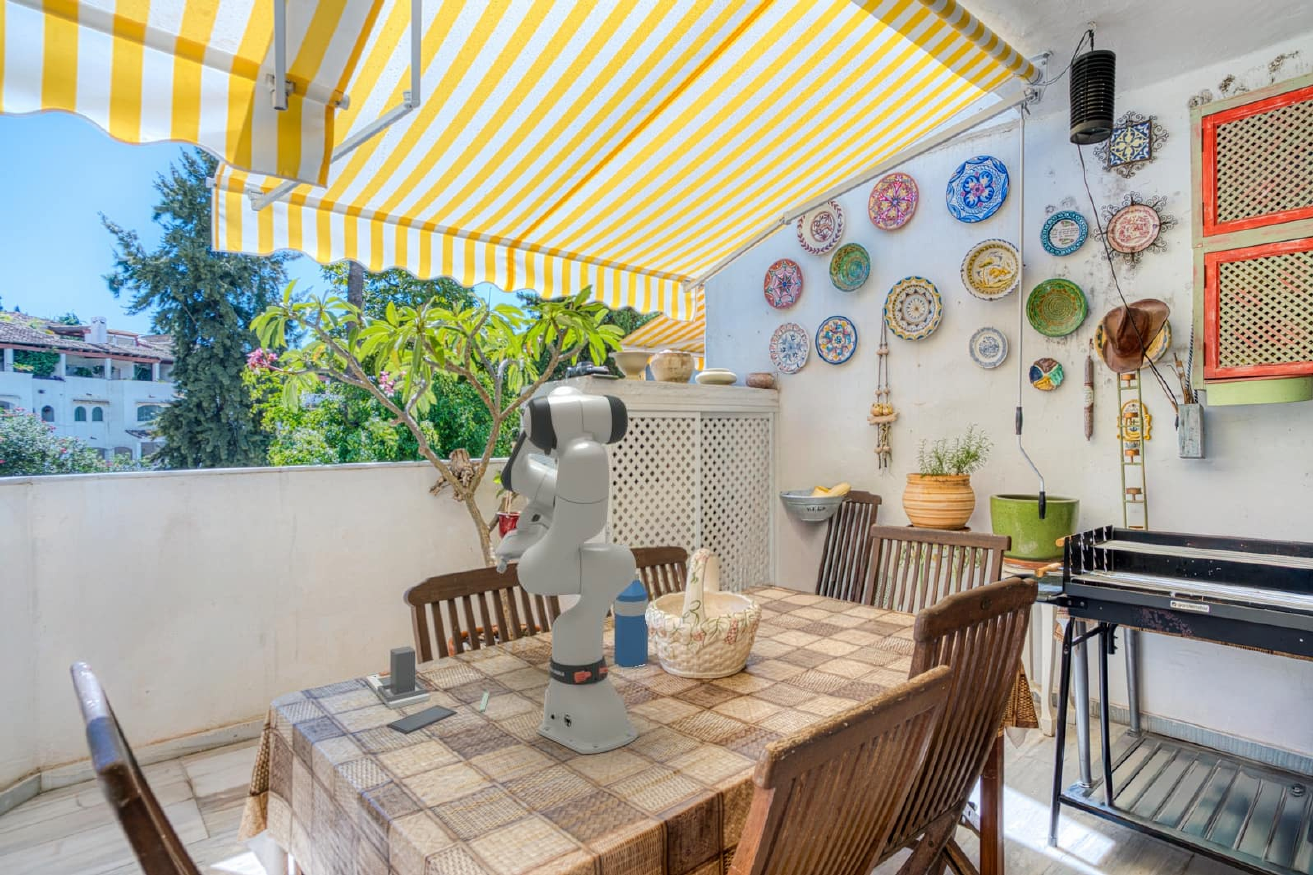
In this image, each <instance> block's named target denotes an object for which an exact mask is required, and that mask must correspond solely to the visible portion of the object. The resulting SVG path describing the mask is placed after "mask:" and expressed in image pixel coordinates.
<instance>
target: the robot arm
mask: <svg viewBox="0 0 1313 875" xmlns="http://www.w3.org/2000/svg"><path fill="white" fill-rule="evenodd" d="M522 418H523V419H522V420H523V421H522V422H523V423H522V424H523V430H522V432H521V433H520V435H519V437H518V439H517V441H516V443H515V445H514V447H513V448H512V449H513V450H512V451H511V453H510V455H509V458H508V459H507V461H506V462H505V464H504V465H503V467H502V468H501V471H500V477H499V481H500V484H501V485H502V487H503V488H504V490H505V491H508V492H511V493H514V494H518V495H520V496H523V497H525V498H527V499H528V500H529V501H528V503H527V505H525V506H524V508H523V509H522V511H521V513H520V515H519V517H518V519H517V521H516V523H515V528H513V530H510V531H508V532H506V533H505V535H504V536H503V537H502V539H501V541H500V543H499V544H498V546H497V547H496V549H495V552H494V554H495V556H496V557H498V558H499V561H498V566H497V568H496V572H497V573H499V574H504V573H505V572H506V571H507V569H508V567H507V564H509V562H510V560H512V561H513V560H519V561H518V563H517V565H516V567H515V570H517V573H516V574H517V578H518V582H519V583H520V587H522V588H523V590H524V591H525V592H526V593H528V594H533V595H540V596H545V597H546V596H547V597H551V596H571V595H577V596H578V595H580V598H579V600H578V601H577V603H575V604H574V606H572V607H570V608H569V609H567V610H565V611H563V612H562V613H560V614H559V615H558V616H557V617H556V619H555V620H554V622H553V624H552V629H551V636H552V637H551V640H552V641H551V657H550V659H549V676H550V677H551V678H550V682H549V684H548V686H547V687H546V689H545V693H544V701H543V702H544V703H543V713H542V722H541V723H540V725H538V727H537V734H539V735H540V736H543V737H546V738H547V739H549V740H552V741H554V742H556V743H558V744H560V745H563V746H565V748H568V749H570V750H573V751H576V753H579V754H582V755H588V754H589V755H590V754H600V753H603V752H607V751H611V750H615V749H618V748H620V747H623V746H626V745H627V744H630V743H632V742H633V741H635V740H636V739H637V738H638V737H639V730H638V729H637V728H636V727H635V726H634V725H632V723H631V722H629V721H628V720H627V718H628V716H627V708H626V698H625V696H624V695H619V693H618V692H617V690H616V689H615V687H614V685H613V684H612V682H611V680H610V679H609V676H608V675H609V672H610V670H608V669H609V668H610V666H607V661H606V658H605V655H604V635H605V634H604V633H605V625H606V619H607V616H608V613H609V611H610V609H611V607H612V605H613V604H614V603H615V599H616V598H617V597H618V596H619V595H620V594H621V593H622V592H623V591H624V590H625V589H627V588H628V587H629V586H630V584H631V583H632V581H633V580H634V577H635V574H636V572H637V562H636V557H635V556H634V553H633V551H632V550H631V549H630V548H629V547H628V546H627V545H623V544H618V543H612V542H608V541H607V542H604V541H603V542H589V543H588V542H587V541H590V540H591V539H593V538H595V537H596V536H598V535H599V534H600V533H601V532H602V531H603V529H604V528H605V526H606V524H607V521H608V511H609V501H610V500H609V498H610V484H611V483H610V477H611V476H610V475H611V474H610V462H609V456H608V452H607V450H606V449H605V447H604V446H603V445H604V444H605V445H612V444H616V443H620V442H621V441H622V440H623V439H624V438H625V436H626V434H627V431H628V426H629V415H628V410H627V407H626V404H625V402H623V401H622V399H620V398H619V397H617V396H612V395H609V394H604V395H603V396H602V395H594V394H584V392H582V391H581V390H580V389H578V388H576V387H574V386H570V385H565V386H564V385H563V386H562V385H561V386H558V387H556V388H554V389H553V390H552V391H551V392H550V393H549V394H548V395H542V396H541V395H540V396H536V397H534V398H531V399H529V401H528V403H527V404H526V406H525V409H524V412H523V417H522ZM530 454H531V455H532V454H533V455H539V456H542V457H547V458H550V459H558V460H557V461H558V463H557V464H558V466H557V469H556V468H555V469H554V468H552V467H550V466H548V465H545V464H543V463H541V462H538V461H536V460H534V459H532V458H531V457H529V455H530Z"/></svg>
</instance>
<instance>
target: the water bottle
mask: <svg viewBox="0 0 1313 875" xmlns="http://www.w3.org/2000/svg"><path fill="white" fill-rule="evenodd" d="M639 574H640V572H639V571H636V574H635V577H634V580H633V581H632V583H631V584H630V586H629V587H628V588H627V589H625V590H624V591H623V592H622V593H621V594H620V595H619V596H618V597H617V598H616V599H615V601H614V644H613V646H614V653H613V654H614V664H615V665H616V664H618V665H619V666H621V667H620V668H625V667H635V666H639V665H643V664H646V665H647V663H648V662H649V625H648V626H647V624H646V620H645V613H646V609H647V606H648V607H649V591H648V590H647V589H646V587H645V585H644V584H643V583H642V582H641V580H640V576H639ZM647 661H648V662H647ZM646 662H647V663H646ZM618 665H617V666H618ZM619 666H618V667H619Z"/></svg>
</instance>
